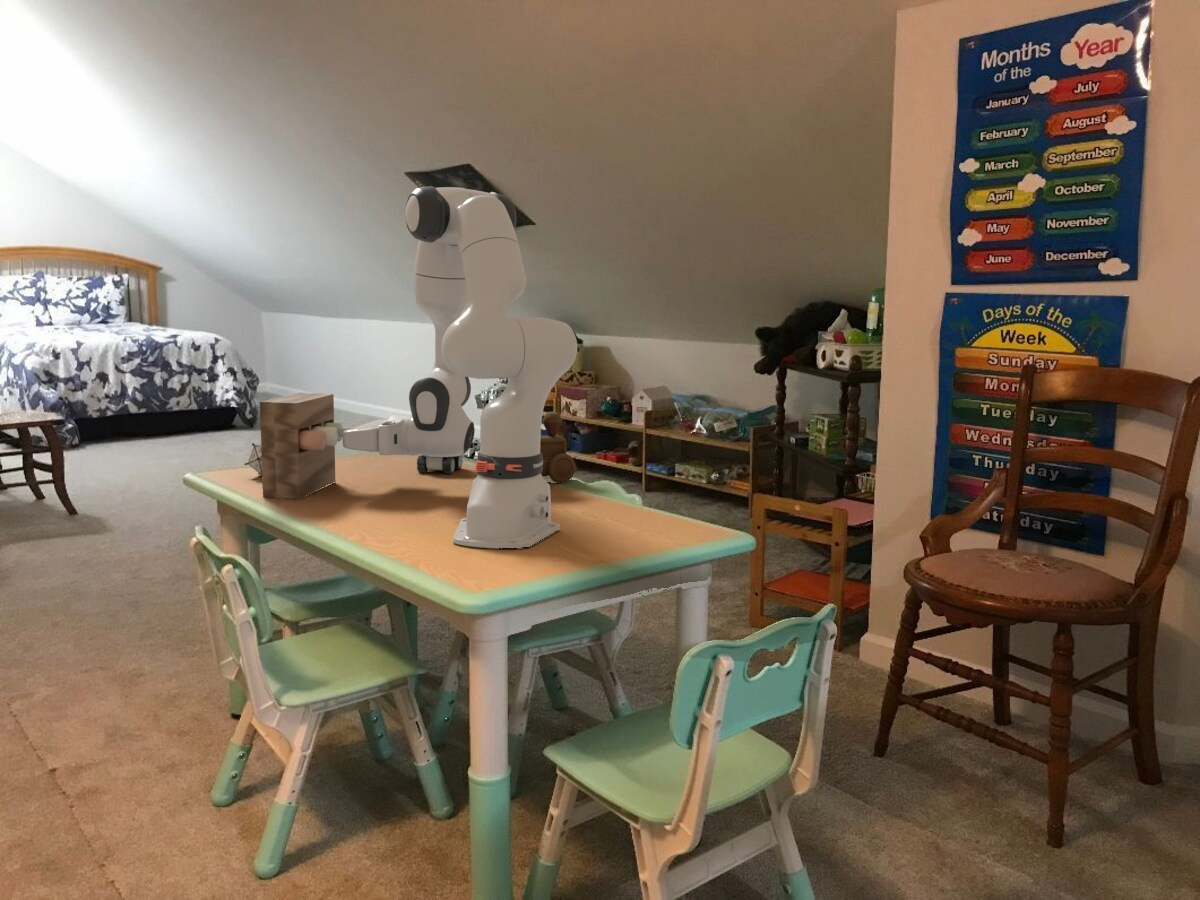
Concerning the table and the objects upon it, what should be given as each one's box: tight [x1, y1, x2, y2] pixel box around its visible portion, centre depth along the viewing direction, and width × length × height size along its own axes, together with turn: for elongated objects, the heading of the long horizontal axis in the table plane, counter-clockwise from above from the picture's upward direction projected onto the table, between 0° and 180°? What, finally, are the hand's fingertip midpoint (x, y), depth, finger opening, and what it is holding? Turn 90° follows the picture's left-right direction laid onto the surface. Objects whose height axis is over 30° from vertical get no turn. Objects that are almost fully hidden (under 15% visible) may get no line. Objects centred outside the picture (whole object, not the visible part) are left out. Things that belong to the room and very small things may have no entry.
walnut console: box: [259, 392, 336, 500], centre depth 211 cm, size 8×18×20 cm, turn 171°
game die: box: [243, 442, 262, 479], centre depth 226 cm, size 9×8×10 cm
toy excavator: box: [416, 454, 464, 474], centre depth 239 cm, size 9×17×17 cm, turn 170°
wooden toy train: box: [540, 411, 578, 484], centre depth 226 cm, size 20×11×17 cm, turn 120°
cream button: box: [311, 426, 339, 447], centre depth 210 cm, size 6×4×4 cm, turn 81°
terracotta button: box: [298, 430, 326, 450], centre depth 204 cm, size 6×4×4 cm, turn 81°
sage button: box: [323, 422, 344, 442], centre depth 216 cm, size 6×4×4 cm, turn 81°
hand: (339, 431), depth 215 cm, fingers closed, pressing on sage button
